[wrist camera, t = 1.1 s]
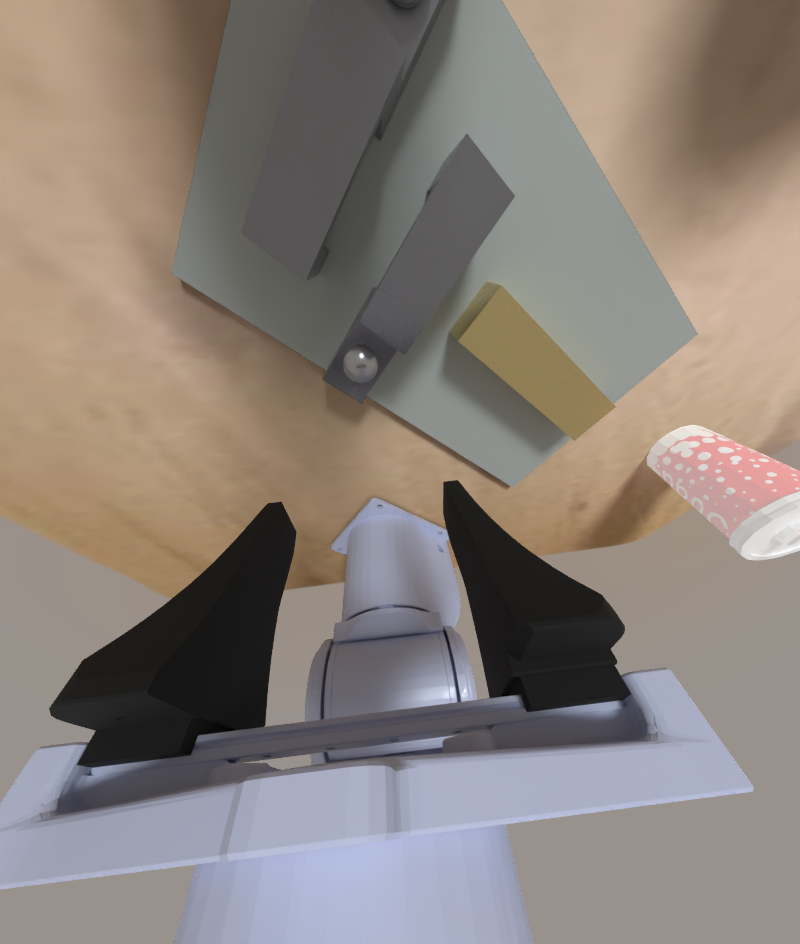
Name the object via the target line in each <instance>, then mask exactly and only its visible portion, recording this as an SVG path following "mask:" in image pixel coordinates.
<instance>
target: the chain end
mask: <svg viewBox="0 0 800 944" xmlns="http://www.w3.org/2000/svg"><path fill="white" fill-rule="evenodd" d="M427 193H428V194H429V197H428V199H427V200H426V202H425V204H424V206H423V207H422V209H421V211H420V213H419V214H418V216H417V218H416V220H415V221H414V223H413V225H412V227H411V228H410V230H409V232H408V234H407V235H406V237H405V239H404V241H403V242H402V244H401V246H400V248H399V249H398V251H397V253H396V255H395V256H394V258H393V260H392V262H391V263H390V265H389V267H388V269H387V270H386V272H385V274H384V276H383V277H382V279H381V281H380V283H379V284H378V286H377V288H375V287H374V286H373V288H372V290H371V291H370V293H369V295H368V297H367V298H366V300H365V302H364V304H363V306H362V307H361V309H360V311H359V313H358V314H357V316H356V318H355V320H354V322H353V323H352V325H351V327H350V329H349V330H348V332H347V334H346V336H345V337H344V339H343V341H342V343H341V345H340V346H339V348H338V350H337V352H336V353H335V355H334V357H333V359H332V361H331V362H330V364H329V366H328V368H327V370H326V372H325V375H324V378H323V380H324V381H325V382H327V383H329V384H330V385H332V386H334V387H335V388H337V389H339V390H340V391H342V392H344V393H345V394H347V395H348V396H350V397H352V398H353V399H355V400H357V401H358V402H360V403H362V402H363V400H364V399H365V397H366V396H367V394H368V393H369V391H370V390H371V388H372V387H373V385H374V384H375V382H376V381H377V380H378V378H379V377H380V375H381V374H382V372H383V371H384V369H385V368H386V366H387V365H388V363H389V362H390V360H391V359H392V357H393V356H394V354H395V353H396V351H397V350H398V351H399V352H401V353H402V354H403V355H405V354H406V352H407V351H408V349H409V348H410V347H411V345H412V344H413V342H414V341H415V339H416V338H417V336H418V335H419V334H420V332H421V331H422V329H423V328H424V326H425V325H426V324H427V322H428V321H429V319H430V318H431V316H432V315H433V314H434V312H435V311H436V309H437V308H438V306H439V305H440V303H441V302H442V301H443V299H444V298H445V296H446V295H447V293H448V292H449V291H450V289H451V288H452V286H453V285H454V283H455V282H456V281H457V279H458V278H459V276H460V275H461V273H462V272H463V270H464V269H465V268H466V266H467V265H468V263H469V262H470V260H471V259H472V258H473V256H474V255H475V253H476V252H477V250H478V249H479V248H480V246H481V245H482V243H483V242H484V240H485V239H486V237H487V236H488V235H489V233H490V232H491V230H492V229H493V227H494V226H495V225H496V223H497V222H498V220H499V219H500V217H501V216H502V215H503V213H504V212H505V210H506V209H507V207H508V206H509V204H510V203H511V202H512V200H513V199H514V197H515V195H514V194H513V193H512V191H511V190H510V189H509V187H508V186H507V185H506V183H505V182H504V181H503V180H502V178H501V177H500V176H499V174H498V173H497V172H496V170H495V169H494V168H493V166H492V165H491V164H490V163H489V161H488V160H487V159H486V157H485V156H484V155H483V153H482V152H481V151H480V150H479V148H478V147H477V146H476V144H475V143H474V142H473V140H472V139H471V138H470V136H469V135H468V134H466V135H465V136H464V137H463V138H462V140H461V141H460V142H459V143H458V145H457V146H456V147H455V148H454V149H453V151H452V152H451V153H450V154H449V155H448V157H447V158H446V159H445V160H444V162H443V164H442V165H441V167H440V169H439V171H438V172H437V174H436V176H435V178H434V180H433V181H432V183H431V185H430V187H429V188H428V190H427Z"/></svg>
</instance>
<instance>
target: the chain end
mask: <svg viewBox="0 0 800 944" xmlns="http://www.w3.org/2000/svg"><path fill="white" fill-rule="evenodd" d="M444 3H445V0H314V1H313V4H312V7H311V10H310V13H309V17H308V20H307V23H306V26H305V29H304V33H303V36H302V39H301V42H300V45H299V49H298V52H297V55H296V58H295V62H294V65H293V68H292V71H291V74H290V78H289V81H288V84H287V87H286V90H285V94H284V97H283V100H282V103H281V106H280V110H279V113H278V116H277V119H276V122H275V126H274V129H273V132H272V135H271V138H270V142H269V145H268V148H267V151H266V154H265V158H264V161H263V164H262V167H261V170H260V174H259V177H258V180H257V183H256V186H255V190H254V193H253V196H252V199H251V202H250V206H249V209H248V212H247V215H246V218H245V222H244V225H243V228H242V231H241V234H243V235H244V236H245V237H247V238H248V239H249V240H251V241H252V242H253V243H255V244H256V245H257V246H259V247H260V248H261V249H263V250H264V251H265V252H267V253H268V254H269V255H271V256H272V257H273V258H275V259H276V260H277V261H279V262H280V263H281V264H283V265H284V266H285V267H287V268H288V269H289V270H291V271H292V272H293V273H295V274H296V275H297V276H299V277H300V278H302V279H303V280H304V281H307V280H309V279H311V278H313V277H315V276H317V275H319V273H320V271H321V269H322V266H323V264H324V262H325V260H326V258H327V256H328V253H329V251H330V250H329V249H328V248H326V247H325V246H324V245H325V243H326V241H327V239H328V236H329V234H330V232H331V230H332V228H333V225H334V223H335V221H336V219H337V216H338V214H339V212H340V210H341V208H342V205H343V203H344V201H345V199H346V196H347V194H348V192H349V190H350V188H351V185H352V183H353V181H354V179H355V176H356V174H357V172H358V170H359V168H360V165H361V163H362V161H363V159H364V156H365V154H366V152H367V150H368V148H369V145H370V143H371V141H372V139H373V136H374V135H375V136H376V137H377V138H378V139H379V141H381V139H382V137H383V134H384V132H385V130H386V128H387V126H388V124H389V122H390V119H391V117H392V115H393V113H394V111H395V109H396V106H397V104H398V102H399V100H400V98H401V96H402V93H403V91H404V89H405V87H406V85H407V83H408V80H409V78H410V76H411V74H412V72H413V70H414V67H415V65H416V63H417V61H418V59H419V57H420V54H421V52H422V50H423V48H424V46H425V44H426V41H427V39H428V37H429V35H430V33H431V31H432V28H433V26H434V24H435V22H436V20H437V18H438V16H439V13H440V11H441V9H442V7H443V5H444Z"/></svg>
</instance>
